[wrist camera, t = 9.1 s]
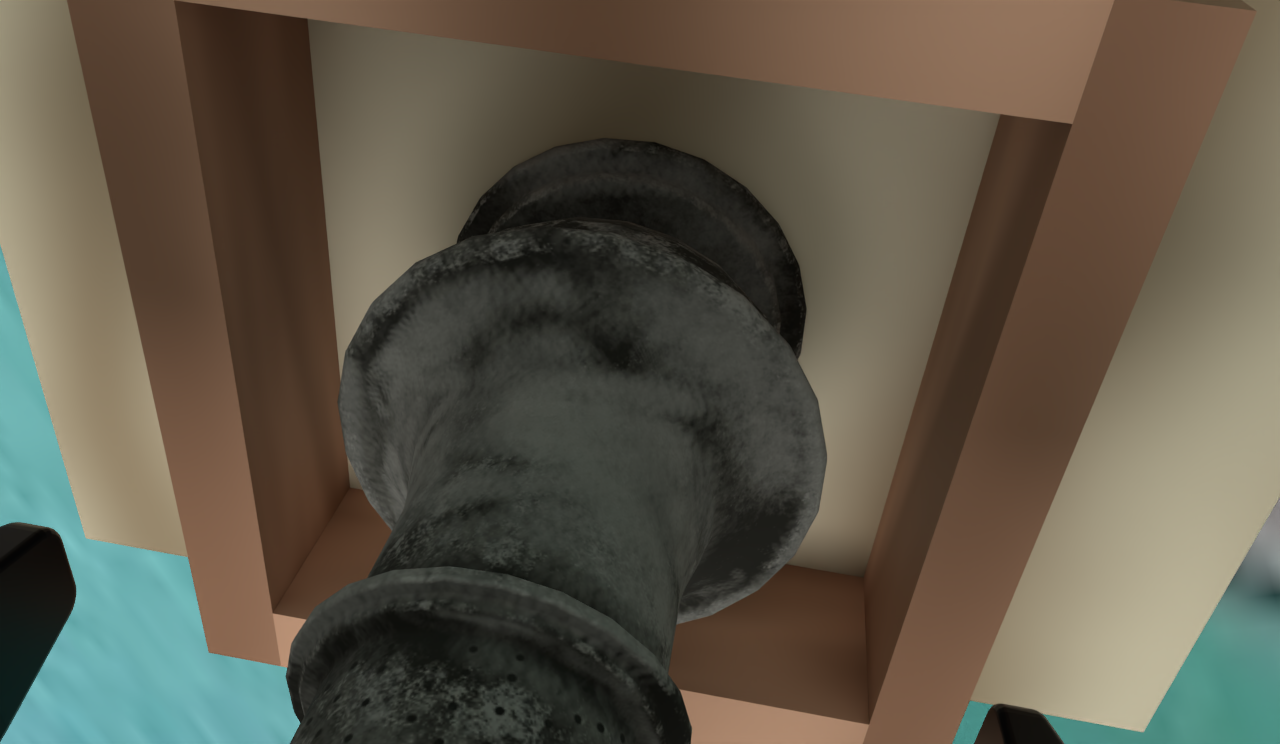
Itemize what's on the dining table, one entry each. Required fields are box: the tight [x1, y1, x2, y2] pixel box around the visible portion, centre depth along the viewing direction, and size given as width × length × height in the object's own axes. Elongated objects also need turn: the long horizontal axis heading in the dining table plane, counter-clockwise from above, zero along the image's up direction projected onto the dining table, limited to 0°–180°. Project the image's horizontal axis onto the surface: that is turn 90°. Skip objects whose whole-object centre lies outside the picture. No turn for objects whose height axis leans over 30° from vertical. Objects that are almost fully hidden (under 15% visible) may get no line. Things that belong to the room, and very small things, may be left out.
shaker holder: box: [0, 0, 1280, 744], centre depth 14 cm, size 20×14×4 cm
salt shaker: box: [286, 138, 827, 744], centre depth 10 cm, size 6×6×12 cm
